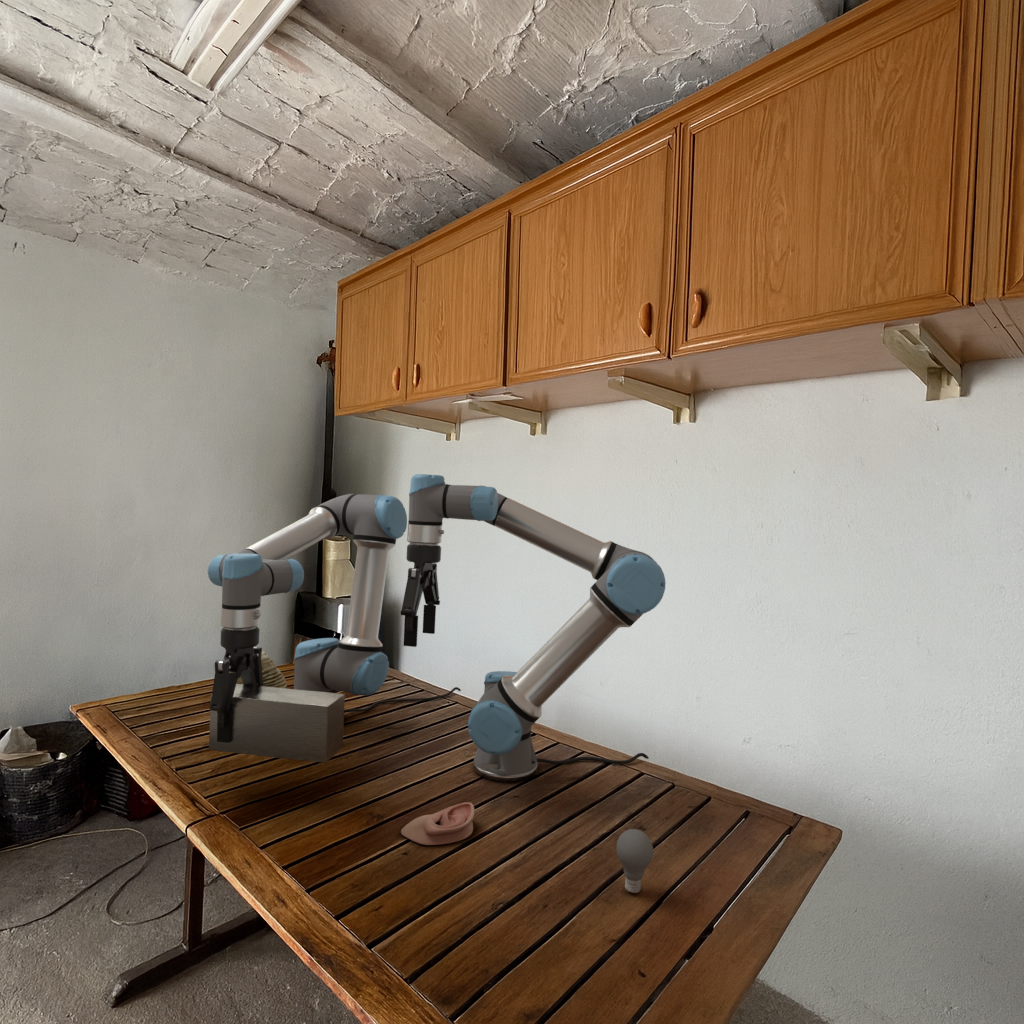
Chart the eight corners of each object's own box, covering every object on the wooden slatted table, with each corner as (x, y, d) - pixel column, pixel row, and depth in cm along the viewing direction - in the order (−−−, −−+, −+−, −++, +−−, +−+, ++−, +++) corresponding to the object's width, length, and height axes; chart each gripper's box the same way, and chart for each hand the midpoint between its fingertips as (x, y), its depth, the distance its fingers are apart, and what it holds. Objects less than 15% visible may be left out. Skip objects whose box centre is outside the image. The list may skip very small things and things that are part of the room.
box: (208, 750, 131) (210, 694, 130) (232, 735, 139) (234, 683, 139) (325, 763, 127) (328, 706, 127) (342, 747, 135) (345, 693, 135)
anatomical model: (395, 819, 118) (416, 792, 129) (394, 840, 118) (415, 811, 129) (464, 829, 115) (479, 801, 126) (463, 851, 115) (479, 820, 126)
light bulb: (610, 879, 108) (613, 822, 108) (644, 879, 109) (647, 822, 109) (619, 902, 102) (622, 840, 102) (655, 901, 103) (658, 840, 103)
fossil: (218, 695, 195) (220, 647, 195) (278, 685, 208) (279, 640, 207) (228, 703, 189) (230, 653, 188) (289, 692, 201) (290, 645, 201)
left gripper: (227, 639, 123) (223, 755, 123) (282, 619, 144) (278, 718, 144) (191, 636, 124) (187, 751, 124) (251, 616, 145) (248, 715, 145)
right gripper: (424, 548, 127) (419, 653, 128) (454, 541, 152) (450, 629, 152) (388, 546, 129) (383, 650, 129) (424, 539, 153) (420, 627, 154)
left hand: (236, 733), depth 134 cm, fingers closed on box, 8 cm apart
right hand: (419, 639), depth 141 cm, fingers open, 13 cm apart
